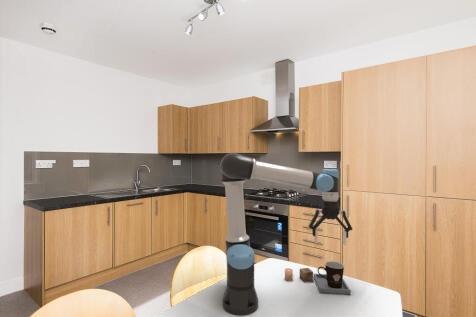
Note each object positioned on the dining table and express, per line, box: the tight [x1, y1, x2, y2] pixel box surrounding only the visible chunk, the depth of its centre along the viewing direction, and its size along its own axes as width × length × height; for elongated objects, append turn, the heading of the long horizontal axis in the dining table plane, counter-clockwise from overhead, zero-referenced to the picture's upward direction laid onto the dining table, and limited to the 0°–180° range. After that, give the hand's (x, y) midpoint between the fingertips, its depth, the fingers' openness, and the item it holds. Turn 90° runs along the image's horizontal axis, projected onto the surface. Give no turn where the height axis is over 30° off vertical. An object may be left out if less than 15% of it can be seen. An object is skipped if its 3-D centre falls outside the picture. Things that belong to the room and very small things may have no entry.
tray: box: [313, 273, 352, 296], centre depth 120 cm, size 14×16×2 cm
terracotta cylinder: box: [284, 267, 294, 282], centre depth 127 cm, size 4×4×5 cm
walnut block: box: [299, 267, 314, 284], centre depth 127 cm, size 5×5×5 cm
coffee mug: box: [316, 260, 345, 289], centre depth 120 cm, size 12×9×10 cm
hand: (330, 243), depth 121 cm, fingers open, 13 cm apart
